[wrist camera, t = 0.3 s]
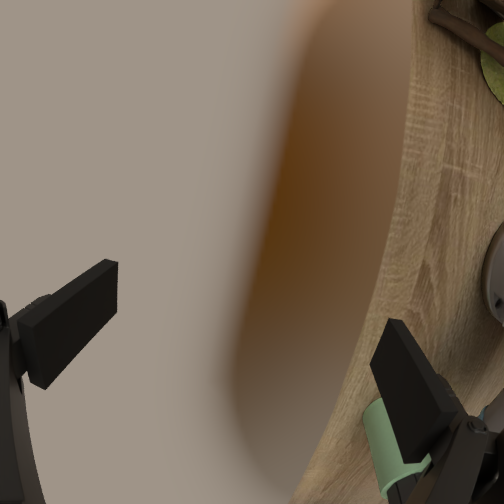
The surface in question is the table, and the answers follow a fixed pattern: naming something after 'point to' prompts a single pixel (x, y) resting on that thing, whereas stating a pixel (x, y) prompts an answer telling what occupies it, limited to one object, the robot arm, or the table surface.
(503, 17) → the toy car
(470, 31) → the dark brown looped block
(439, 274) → the table surface
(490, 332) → the table surface
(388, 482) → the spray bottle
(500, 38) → the mat
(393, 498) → the cap
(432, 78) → the table surface
